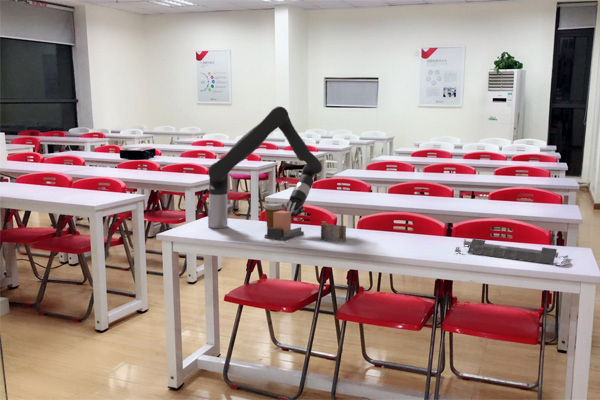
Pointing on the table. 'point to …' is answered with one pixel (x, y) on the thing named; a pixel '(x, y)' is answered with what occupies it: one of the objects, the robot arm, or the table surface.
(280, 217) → the salmon pink block
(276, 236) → the rail base
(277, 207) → the disposable coffee cup
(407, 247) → the table surface
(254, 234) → the table surface
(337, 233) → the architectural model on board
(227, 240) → the table surface
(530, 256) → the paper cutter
